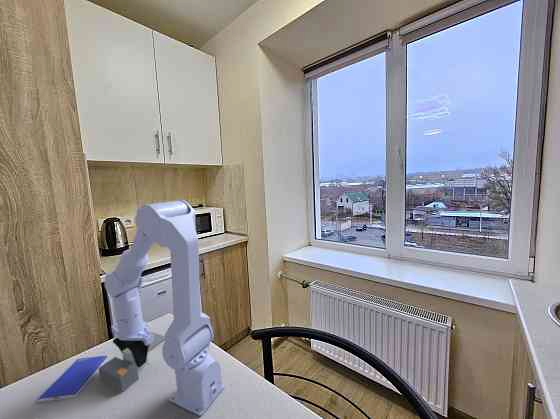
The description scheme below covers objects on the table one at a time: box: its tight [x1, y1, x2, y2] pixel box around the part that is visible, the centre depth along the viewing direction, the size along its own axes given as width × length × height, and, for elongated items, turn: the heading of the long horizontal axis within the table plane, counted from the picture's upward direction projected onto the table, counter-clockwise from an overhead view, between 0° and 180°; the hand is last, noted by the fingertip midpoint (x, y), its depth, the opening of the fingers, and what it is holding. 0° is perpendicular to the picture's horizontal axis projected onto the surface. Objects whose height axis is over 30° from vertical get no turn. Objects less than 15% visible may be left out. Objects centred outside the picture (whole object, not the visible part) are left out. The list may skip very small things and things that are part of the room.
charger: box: [121, 348, 150, 373], centre depth 63 cm, size 4×6×6 cm
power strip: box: [98, 356, 140, 393], centre depth 60 cm, size 9×4×4 cm, turn 64°
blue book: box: [37, 355, 109, 403], centre depth 62 cm, size 2×8×12 cm
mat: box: [148, 331, 165, 353], centre depth 74 cm, size 8×8×1 cm
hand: (136, 362), depth 64 cm, fingers closed on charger, 4 cm apart
